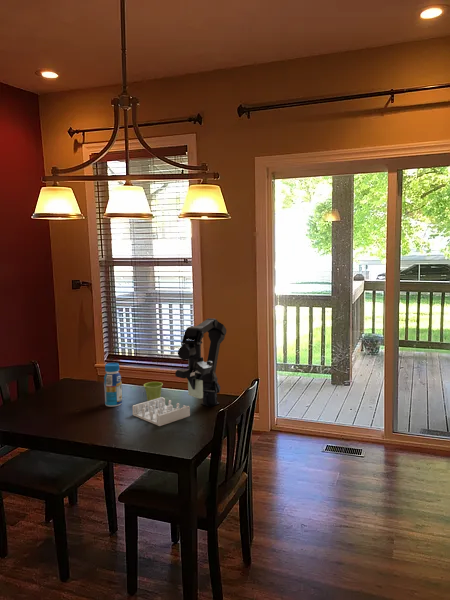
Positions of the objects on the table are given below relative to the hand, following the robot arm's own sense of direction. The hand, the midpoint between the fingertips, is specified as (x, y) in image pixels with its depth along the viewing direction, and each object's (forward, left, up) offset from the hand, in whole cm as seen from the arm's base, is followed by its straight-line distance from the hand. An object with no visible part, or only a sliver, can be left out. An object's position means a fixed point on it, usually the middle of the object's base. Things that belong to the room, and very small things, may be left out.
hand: (195, 389), depth 215 cm
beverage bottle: (+17, -41, -12) cm, 46 cm away
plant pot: (+1, -30, -12) cm, 32 cm away
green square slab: (0, 0, -3) cm, 3 cm away
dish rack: (+11, -11, -12) cm, 20 cm away
